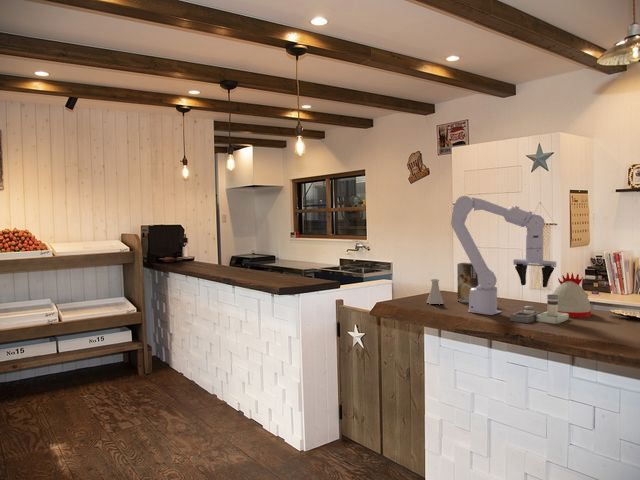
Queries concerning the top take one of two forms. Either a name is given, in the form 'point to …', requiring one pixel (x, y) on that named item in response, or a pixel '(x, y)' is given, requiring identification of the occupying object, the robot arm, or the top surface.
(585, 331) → the top surface
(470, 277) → the coffee box
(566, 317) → the parts tray
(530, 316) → the grey compartment rack
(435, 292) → the flask
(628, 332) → the top surface
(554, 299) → the cylinder
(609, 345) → the top surface
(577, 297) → the kitchen timer
